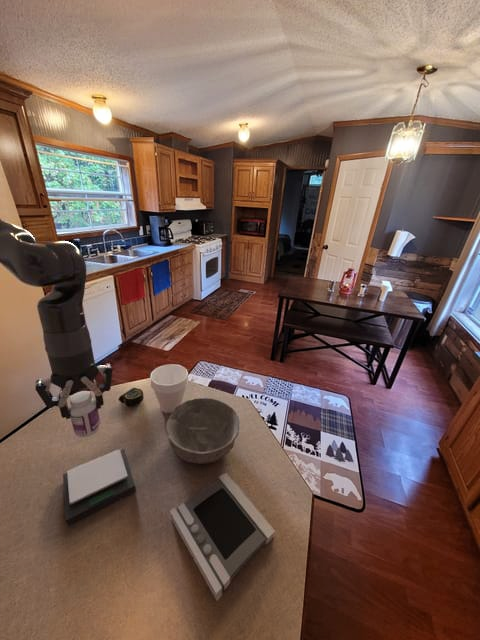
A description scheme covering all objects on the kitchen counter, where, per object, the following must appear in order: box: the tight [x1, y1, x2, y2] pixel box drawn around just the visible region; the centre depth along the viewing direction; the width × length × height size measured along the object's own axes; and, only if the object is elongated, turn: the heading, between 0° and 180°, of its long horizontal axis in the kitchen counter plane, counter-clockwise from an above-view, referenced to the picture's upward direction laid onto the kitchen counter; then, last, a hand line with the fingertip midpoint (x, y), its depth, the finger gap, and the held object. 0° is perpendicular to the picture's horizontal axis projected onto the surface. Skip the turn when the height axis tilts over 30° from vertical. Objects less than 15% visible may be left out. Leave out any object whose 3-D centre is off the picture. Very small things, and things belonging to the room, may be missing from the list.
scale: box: [62, 448, 137, 528], centre depth 62 cm, size 14×12×4 cm
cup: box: [149, 363, 189, 414], centre depth 87 cm, size 12×12×14 cm
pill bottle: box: [68, 390, 102, 438], centre depth 57 cm, size 5×5×10 cm
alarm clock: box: [169, 472, 276, 602], centre depth 56 cm, size 17×5×16 cm
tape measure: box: [117, 387, 145, 407], centre depth 90 cm, size 7×7×4 cm
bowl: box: [165, 397, 240, 464], centre depth 73 cm, size 21×21×10 cm
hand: (83, 411), depth 57 cm, fingers closed on pill bottle, 5 cm apart
